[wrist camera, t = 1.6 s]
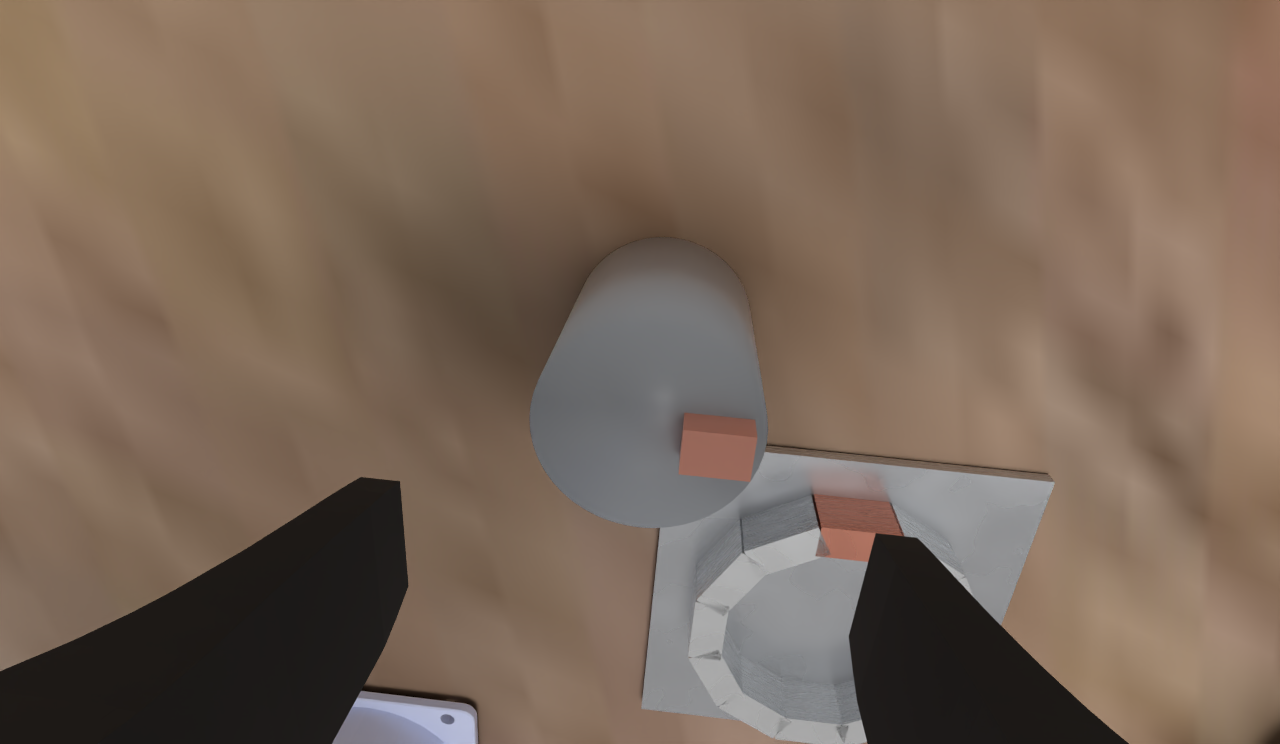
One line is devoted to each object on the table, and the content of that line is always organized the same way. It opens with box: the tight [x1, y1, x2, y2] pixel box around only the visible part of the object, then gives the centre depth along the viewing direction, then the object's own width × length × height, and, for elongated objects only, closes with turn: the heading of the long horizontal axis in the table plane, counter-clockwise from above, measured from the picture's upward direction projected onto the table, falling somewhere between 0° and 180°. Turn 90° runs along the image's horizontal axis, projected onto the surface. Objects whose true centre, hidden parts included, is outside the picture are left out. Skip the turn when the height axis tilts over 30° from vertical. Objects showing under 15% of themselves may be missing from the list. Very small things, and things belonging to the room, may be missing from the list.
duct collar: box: [641, 445, 1055, 744], centre depth 23 cm, size 11×11×2 cm
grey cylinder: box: [530, 237, 768, 528], centre depth 17 cm, size 5×5×7 cm
